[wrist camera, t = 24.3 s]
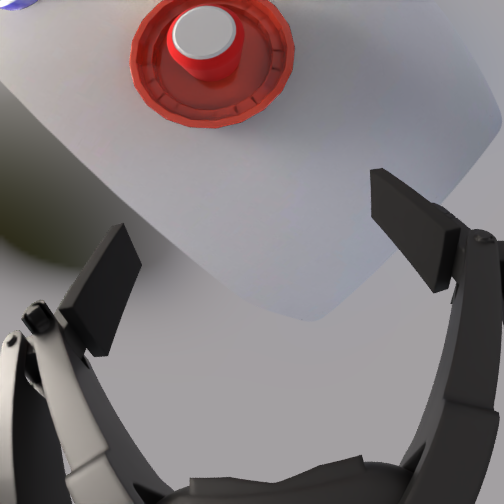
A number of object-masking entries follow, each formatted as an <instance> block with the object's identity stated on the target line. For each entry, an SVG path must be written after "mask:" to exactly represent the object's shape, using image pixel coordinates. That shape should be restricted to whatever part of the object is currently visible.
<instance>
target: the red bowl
mask: <svg viewBox="0 0 504 504" xmlns="http://www.w3.org/2000/svg"><path fill="white" fill-rule="evenodd" d="M203 4H215V5H220V6H223V7H226V8H228V9H229V10H231V11H232V12H234V13H235V14H236V15H237V16H238V17H239V19H240V20H241V22H242V24H243V27H244V32H245V38H244V43H243V48H242V53H241V58H240V62H239V65H238V67H237V68H236V69H235V71H234V72H233V73H232V74H231V75H229V76H228V77H226V78H224V79H222V80H219V81H213V82H207V81H202V80H199V79H197V78H195V77H193V76H192V75H191V74H190V73H189V72H187V71H186V70H185V69H184V68H183V67H182V66H181V65H180V64H178V63H177V62H176V61H175V60H174V59H173V57H172V56H171V54H170V52H169V50H168V46H167V34H168V31H169V28H170V26H171V24H172V23H173V21H174V20H175V19H176V18H177V17H178V16H179V15H180V14H181V13H182V12H184V11H185V10H187V9H189V8H192V7H194V6H198V5H203ZM294 52H295V46H294V42H293V38H292V34H291V30H290V26H289V24H288V23H287V21H286V20H285V19H284V17H283V16H282V14H281V13H280V11H279V10H278V9H277V7H276V6H275V5H273V4H272V3H271V2H269V1H268V0H163V1H161V2H160V3H159V4H158V5H157V6H156V7H155V8H154V9H153V10H152V11H151V12H150V13H149V14H148V15H147V16H146V17H145V18H144V19H143V21H142V22H141V24H140V26H139V28H138V30H137V32H136V34H135V36H134V38H133V40H132V45H131V52H130V61H129V66H130V70H131V75H132V79H133V83H134V86H135V88H136V89H137V91H138V92H139V94H140V95H141V97H142V98H143V100H144V101H145V103H146V104H147V105H148V106H149V107H150V108H152V109H153V110H154V111H156V112H157V113H158V114H160V115H161V116H162V117H164V118H165V119H167V120H170V121H173V122H176V123H179V124H181V125H184V126H187V127H194V128H220V127H224V126H228V125H232V124H237V123H241V122H243V121H245V120H247V119H248V118H250V117H252V116H254V115H256V114H257V113H259V112H261V111H263V110H264V109H266V107H267V106H268V105H269V104H270V103H271V102H272V101H273V100H274V99H275V98H276V97H277V96H278V95H279V94H280V93H281V92H282V91H283V88H284V86H285V84H286V82H287V80H288V78H289V76H290V74H291V72H292V70H293V61H294Z"/></svg>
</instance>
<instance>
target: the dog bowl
mask: <svg viewBox="0 0 504 504" xmlns="http://www.w3.org/2000/svg"><path fill="white" fill-rule="evenodd" d="M36 1H38V0H0V9H6V10H20V9H23V8H26V7H28V6H30V5H32V4H33V3H35V2H36Z"/></svg>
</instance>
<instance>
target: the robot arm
mask: <svg viewBox="0 0 504 504" xmlns="http://www.w3.org/2000/svg"><path fill="white" fill-rule="evenodd" d="M370 181H371V217H372V218H373V219H374V221H375V222H376V223H377V224H378V225H379V226H380V227H381V229H382V230H383V231H384V232H385V233H386V234H387V235H388V237H389V238H390V239H391V240H392V241H393V243H394V244H395V245H396V246H397V247H398V249H399V250H400V251H401V252H402V253H403V255H404V256H405V257H406V258H407V260H408V261H409V262H410V263H411V265H412V266H413V267H414V268H415V269H416V271H417V272H418V273H419V275H420V276H421V277H422V279H423V280H424V281H425V282H426V284H427V285H428V287H429V288H430V289H431V291H432V292H433V293H437V292H440V291H443V290H446V289H448V288H449V284H450V280H451V276H452V277H453V278H454V279H455V281H456V282H457V283H456V286H455V290H454V293H453V297H452V300H451V304H452V309H451V315H450V320H449V326H448V330H447V335H446V339H445V344H444V348H443V352H442V356H441V360H440V363H439V367H438V371H437V374H436V378H435V381H434V384H433V387H432V390H431V394H430V397H429V400H428V402H427V405H426V408H425V411H424V414H423V416H422V419H421V422H420V425H419V427H418V429H417V432H416V434H415V436H414V439H413V441H412V443H411V445H410V446H409V448H408V450H407V452H406V454H405V455H404V457H403V459H402V461H401V463H400V465H399V466H396V465H393V464H389V463H382V462H363V458H362V455H359V456H356V457H352V458H348V459H345V460H341V461H337V462H332V463H328V464H324V465H319V466H317V467H315V468H312V469H310V470H308V471H305V472H303V473H301V474H298V475H296V476H293V477H291V478H288V479H286V480H283V481H280V482H277V483H267V482H258V481H251V480H244V479H238V478H232V477H222V478H190V486H187V487H185V488H182V489H179V490H177V491H174V490H173V489H171V488H170V487H169V486H168V485H167V484H166V483H164V482H163V481H162V480H161V479H160V478H159V476H158V475H157V474H156V473H155V471H154V470H153V469H152V468H151V466H150V465H149V463H148V462H147V460H146V459H145V458H144V456H143V455H142V453H141V452H140V450H139V449H138V447H137V446H136V445H135V443H134V441H133V440H132V438H131V437H130V435H129V434H128V432H127V430H126V429H125V427H124V426H123V424H122V422H121V421H120V419H119V417H118V416H117V414H116V412H115V410H114V409H113V407H112V405H111V403H110V402H109V400H108V398H107V396H106V394H105V392H104V390H103V389H102V387H101V385H100V383H99V381H98V379H97V377H96V375H95V373H94V371H93V369H92V367H91V364H90V362H89V361H88V359H87V358H86V357H85V356H84V353H85V350H86V348H87V349H88V350H89V351H90V353H91V354H92V355H93V356H94V357H102V356H108V354H109V351H110V348H111V345H112V342H113V339H114V336H115V333H116V330H117V328H118V325H119V322H120V319H121V317H122V314H123V311H124V309H125V306H126V303H127V301H128V298H129V296H130V293H131V291H132V288H133V286H134V283H135V281H136V278H137V276H138V273H139V271H140V269H141V266H142V264H141V261H140V259H139V257H138V255H137V253H136V251H135V248H134V246H133V244H132V241H131V239H130V237H129V235H128V232H127V230H126V228H125V226H124V223H121V224H118V225H115V226H112V227H111V228H110V230H109V231H108V232H107V234H106V235H105V237H104V238H103V239H102V241H101V242H100V244H99V245H98V247H97V248H96V250H95V251H94V253H93V254H92V256H91V257H90V259H89V260H88V262H87V263H86V265H85V266H84V268H83V269H82V271H81V273H80V274H79V276H78V277H77V279H76V280H75V282H74V283H73V284H72V285H71V286H70V288H69V290H68V291H67V293H66V295H65V296H64V299H63V300H62V301H61V303H60V305H59V307H58V308H57V310H56V312H55V314H54V315H53V313H52V312H51V311H50V309H49V308H48V306H47V305H46V303H45V302H44V301H43V300H39V301H36V302H34V303H33V304H31V305H30V306H29V307H28V308H27V309H26V310H25V311H24V313H23V315H22V318H21V319H22V321H23V322H24V324H25V325H26V326H27V327H28V329H29V330H30V331H31V333H32V334H33V335H31V336H29V337H27V338H25V336H24V335H23V334H22V333H21V331H20V330H16V331H14V332H12V333H10V334H9V335H8V336H7V337H6V339H5V340H4V342H3V345H2V349H1V353H0V504H72V501H71V498H70V495H71V497H72V499H73V501H74V503H75V504H475V501H476V499H477V496H478V494H479V492H480V489H481V486H482V483H483V480H484V478H485V475H486V472H487V468H488V465H489V462H490V458H491V455H492V451H493V448H494V444H495V440H496V436H497V431H498V426H499V418H500V417H499V412H496V411H494V400H495V394H496V387H497V381H498V373H499V363H500V353H501V335H502V321H503V325H504V241H497V240H496V238H495V237H494V236H493V235H492V234H491V233H489V232H487V231H484V230H479V229H474V230H471V229H470V228H468V227H467V226H466V225H465V224H464V223H462V222H461V221H460V220H459V219H458V218H455V216H454V215H453V214H451V213H450V212H449V211H448V210H446V209H445V208H444V207H442V206H440V205H438V204H435V203H431V202H429V201H428V200H427V199H425V198H424V197H423V196H421V195H420V194H419V193H417V192H416V191H415V190H413V189H412V188H411V187H409V186H408V185H406V184H405V183H404V182H402V181H401V180H399V179H398V178H397V177H395V176H394V175H392V174H391V173H389V172H388V171H386V170H385V169H383V168H380V169H373V170H370ZM25 376H26V377H27V378H28V379H29V380H30V383H29V382H28V381H27V379H26V377H25ZM60 443H61V444H60ZM61 446H62V448H63V451H64V453H65V456H66V458H67V461H68V463H69V465H70V468H71V473H70V474H68V475H66V474H65V469H64V463H63V458H62V451H61ZM69 492H70V493H69Z"/></svg>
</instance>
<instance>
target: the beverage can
mask: <svg viewBox="0 0 504 504" xmlns="http://www.w3.org/2000/svg"><path fill="white" fill-rule="evenodd" d="M244 38H245V32H244V27H243V24H242V22H241V20H240V19H239V17H238V16H237V15H236V14H235V13H234V12H232V11H231V10H229V9H228V8H226V7H223V6H220V5H215V4H203V5H198V6H194V7H192V8H189V9H187V10H185V11H184V12H182V13H181V14H180V15H179V16H178V17H177V18H176V19H175V20H174V21H173V23H172V24H171V26H170V28H169V31H168V34H167V46H168V50H169V52H170V54H171V56H172V57H173V59H174V60H175V61H176V62H177V63H178V64H180V65H181V66H182V67H183V68H184V69H185V70H186V71H187V72H189V73H190V74H191V75H192V76H193V77H195V78H197V79H199V80H202V81H207V82H213V81H219V80H222V79H224V78H226V77H228V76H229V75H231V74H232V73H233V72H234V71H235V69H236V68H237V67H238V65H239V62H240V58H241V53H242V48H243V43H244Z"/></svg>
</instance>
